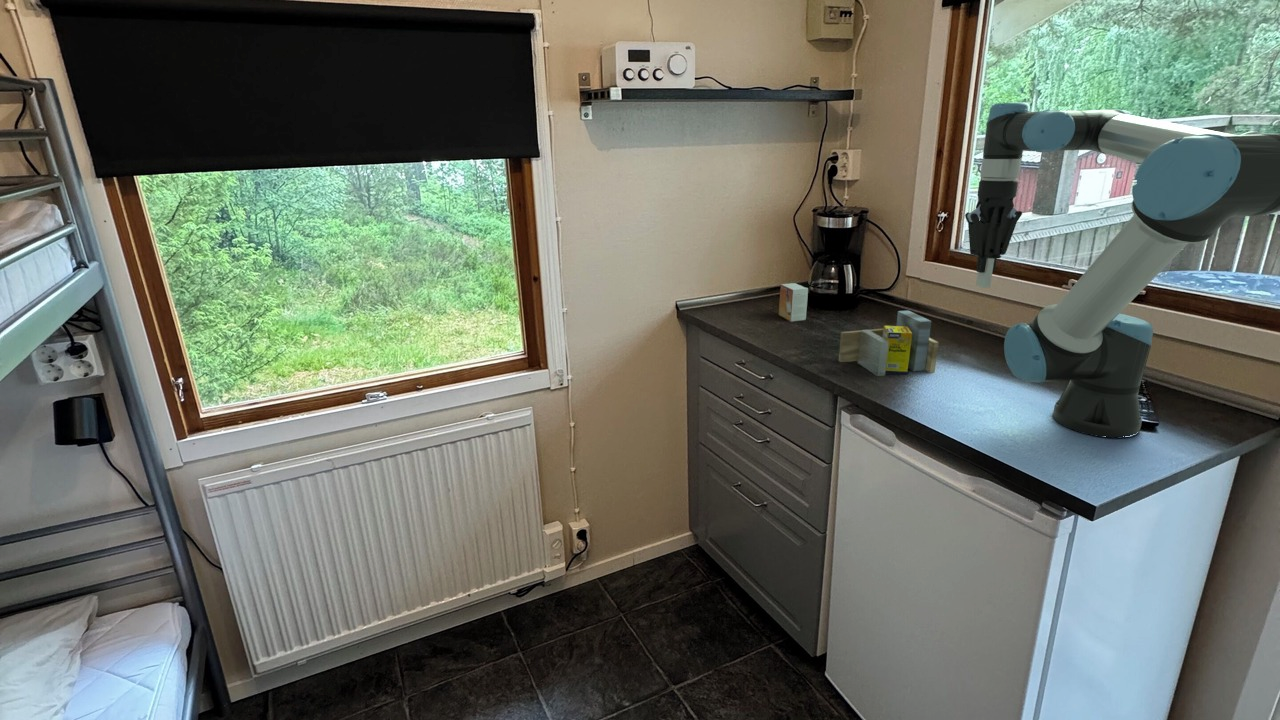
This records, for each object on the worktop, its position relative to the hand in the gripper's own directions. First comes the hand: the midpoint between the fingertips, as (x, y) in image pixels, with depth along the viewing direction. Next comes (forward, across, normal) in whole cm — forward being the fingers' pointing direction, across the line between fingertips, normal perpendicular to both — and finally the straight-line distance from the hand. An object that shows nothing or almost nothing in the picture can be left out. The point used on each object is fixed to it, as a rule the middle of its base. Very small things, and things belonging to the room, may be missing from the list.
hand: (983, 286), depth 151 cm
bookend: (+24, +16, -16) cm, 33 cm away
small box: (+23, +15, -64) cm, 70 cm away
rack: (+24, +12, -16) cm, 31 cm away
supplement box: (+24, +12, -13) cm, 30 cm away
